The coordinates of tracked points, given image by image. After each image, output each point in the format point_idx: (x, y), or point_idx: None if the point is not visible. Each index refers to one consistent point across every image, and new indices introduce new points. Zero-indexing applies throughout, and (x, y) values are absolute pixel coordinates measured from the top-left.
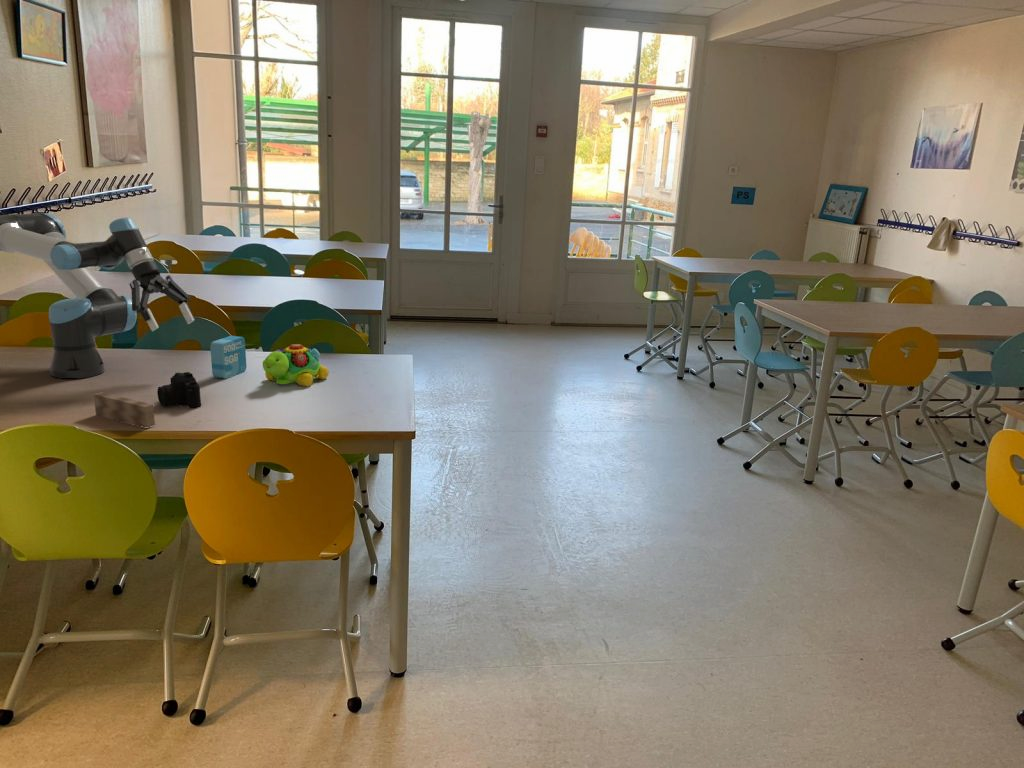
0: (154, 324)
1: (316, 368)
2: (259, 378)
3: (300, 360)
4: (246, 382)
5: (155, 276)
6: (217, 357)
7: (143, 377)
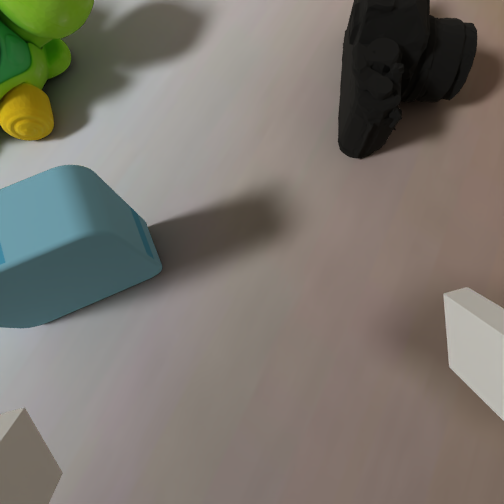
0: (499, 313)
1: None
2: None
3: None
4: (115, 154)
5: None
6: (124, 215)
7: (366, 471)
